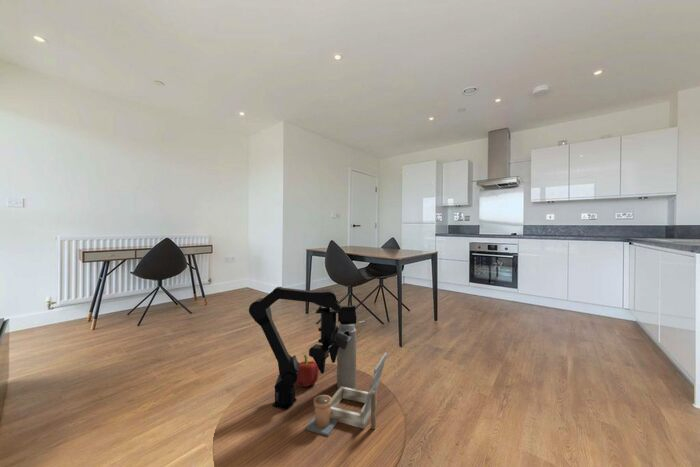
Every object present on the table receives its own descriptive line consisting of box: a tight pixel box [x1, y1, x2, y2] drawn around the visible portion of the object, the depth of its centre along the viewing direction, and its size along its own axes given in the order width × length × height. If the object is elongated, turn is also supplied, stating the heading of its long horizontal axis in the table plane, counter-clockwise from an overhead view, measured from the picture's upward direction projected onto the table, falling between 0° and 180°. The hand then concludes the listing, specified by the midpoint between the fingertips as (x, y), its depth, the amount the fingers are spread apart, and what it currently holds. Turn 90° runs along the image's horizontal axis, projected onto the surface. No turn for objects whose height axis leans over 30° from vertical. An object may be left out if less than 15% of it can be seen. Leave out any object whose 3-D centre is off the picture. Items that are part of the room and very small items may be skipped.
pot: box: [313, 394, 332, 428], centre depth 84 cm, size 6×6×7 cm
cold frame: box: [331, 352, 388, 430], centre depth 91 cm, size 18×14×19 cm
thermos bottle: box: [336, 322, 357, 389], centre depth 109 cm, size 8×8×28 cm
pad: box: [304, 415, 339, 437], centre depth 84 cm, size 8×8×1 cm
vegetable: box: [295, 354, 320, 387], centre depth 110 cm, size 11×10×10 cm
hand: (328, 367), depth 97 cm, fingers open, 9 cm apart
